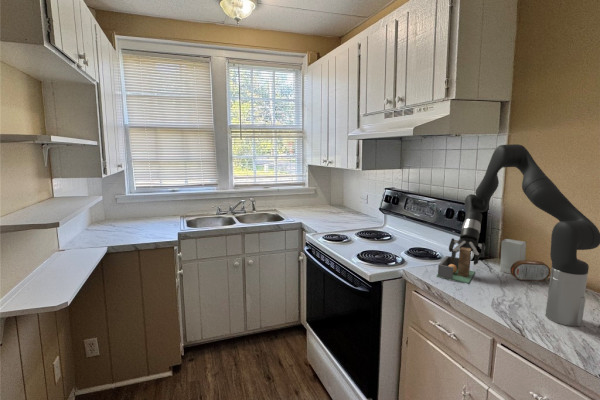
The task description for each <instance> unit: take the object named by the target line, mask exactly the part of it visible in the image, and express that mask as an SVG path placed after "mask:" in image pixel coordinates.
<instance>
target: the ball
mask: <svg viewBox="0 0 600 400" xmlns="http://www.w3.org/2000/svg"><path fill="white" fill-rule="evenodd" d="M448 266H449V267H453V273H455V272H456V271H457V267H456V266H455V265H454V264H450V265H448Z"/></svg>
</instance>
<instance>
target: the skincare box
mask: <svg viewBox="0 0 600 400" xmlns="http://www.w3.org/2000/svg"><path fill="white" fill-rule="evenodd" d="M526 245H527V242H526V241H522V240H516V239H511V238H505V239H502V240H501V246H500V247H501V248H500V249H501V250H500V251H501V252H500V266H499V271H500V272H502V273H507V274H511V271H510V269H511V266H512V265H513V264H514V263H515V262H517V261H521V260H523V261H526V249H527V248H526ZM511 275H512V274H511Z"/></svg>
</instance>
